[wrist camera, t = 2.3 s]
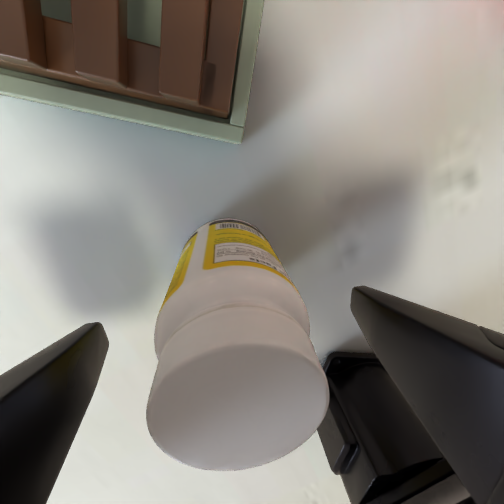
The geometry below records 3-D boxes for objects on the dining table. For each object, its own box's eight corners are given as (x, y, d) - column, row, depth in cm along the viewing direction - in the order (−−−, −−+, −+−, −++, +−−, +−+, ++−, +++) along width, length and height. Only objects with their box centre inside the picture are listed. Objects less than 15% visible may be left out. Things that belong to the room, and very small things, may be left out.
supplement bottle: (210, 310, 14) (199, 505, 6) (164, 243, 12) (62, 401, 4) (284, 273, 14) (370, 430, 6) (248, 199, 12) (303, 283, 4)
